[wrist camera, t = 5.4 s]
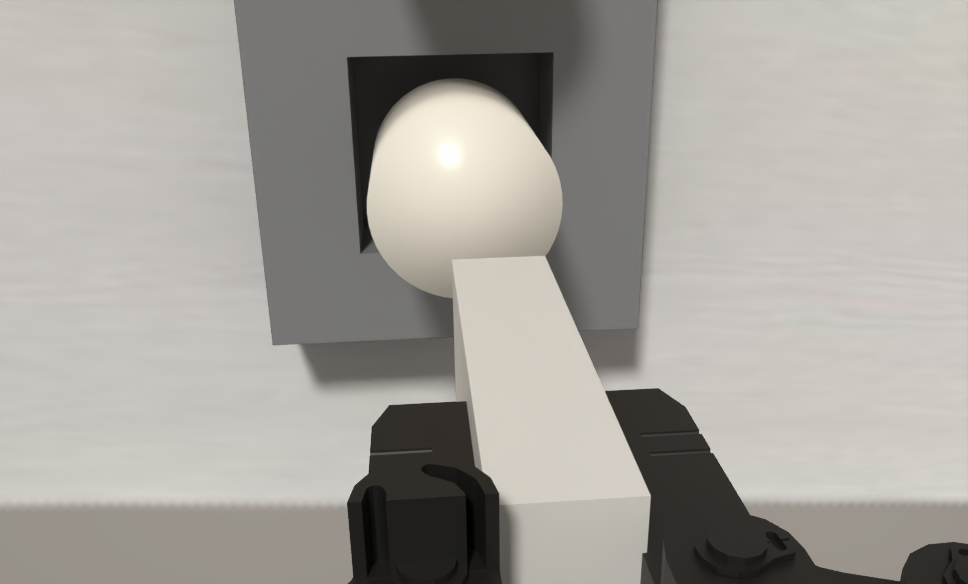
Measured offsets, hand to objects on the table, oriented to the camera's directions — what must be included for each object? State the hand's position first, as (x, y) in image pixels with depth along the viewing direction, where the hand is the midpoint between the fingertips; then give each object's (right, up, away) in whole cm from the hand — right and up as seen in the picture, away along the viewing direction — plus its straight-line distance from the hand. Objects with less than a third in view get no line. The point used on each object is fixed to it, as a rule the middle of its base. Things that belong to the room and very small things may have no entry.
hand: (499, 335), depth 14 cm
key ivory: (-1, +5, +12) cm, 13 cm away
